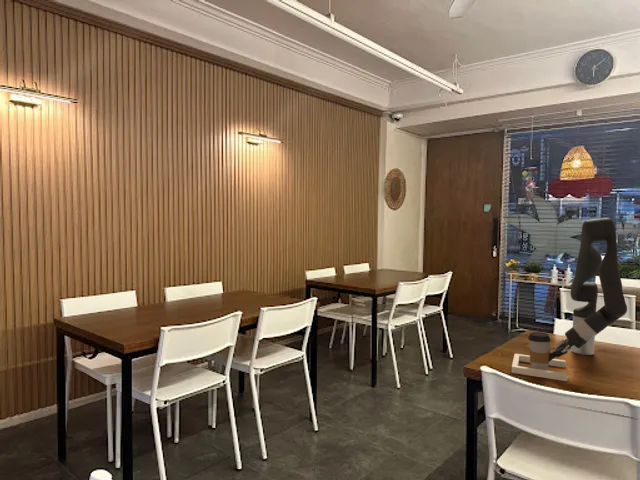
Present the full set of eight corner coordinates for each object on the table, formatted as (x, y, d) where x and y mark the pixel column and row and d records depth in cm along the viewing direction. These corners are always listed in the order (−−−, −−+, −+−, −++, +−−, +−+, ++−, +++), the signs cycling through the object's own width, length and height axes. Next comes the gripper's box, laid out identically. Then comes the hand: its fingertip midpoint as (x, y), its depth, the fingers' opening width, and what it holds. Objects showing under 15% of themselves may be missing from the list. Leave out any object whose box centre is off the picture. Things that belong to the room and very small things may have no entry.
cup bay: (514, 359, 205) (514, 353, 205) (565, 366, 196) (565, 360, 196) (511, 372, 187) (511, 366, 187) (567, 381, 178) (567, 374, 178)
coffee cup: (551, 374, 185) (551, 337, 185) (529, 372, 188) (528, 336, 188) (549, 368, 193) (549, 332, 192) (527, 366, 196) (527, 331, 195)
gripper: (572, 323, 191) (538, 348, 197) (574, 330, 179) (539, 356, 185) (586, 337, 189) (552, 362, 195) (590, 345, 177) (553, 371, 183)
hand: (545, 359), depth 190 cm, fingers closed
